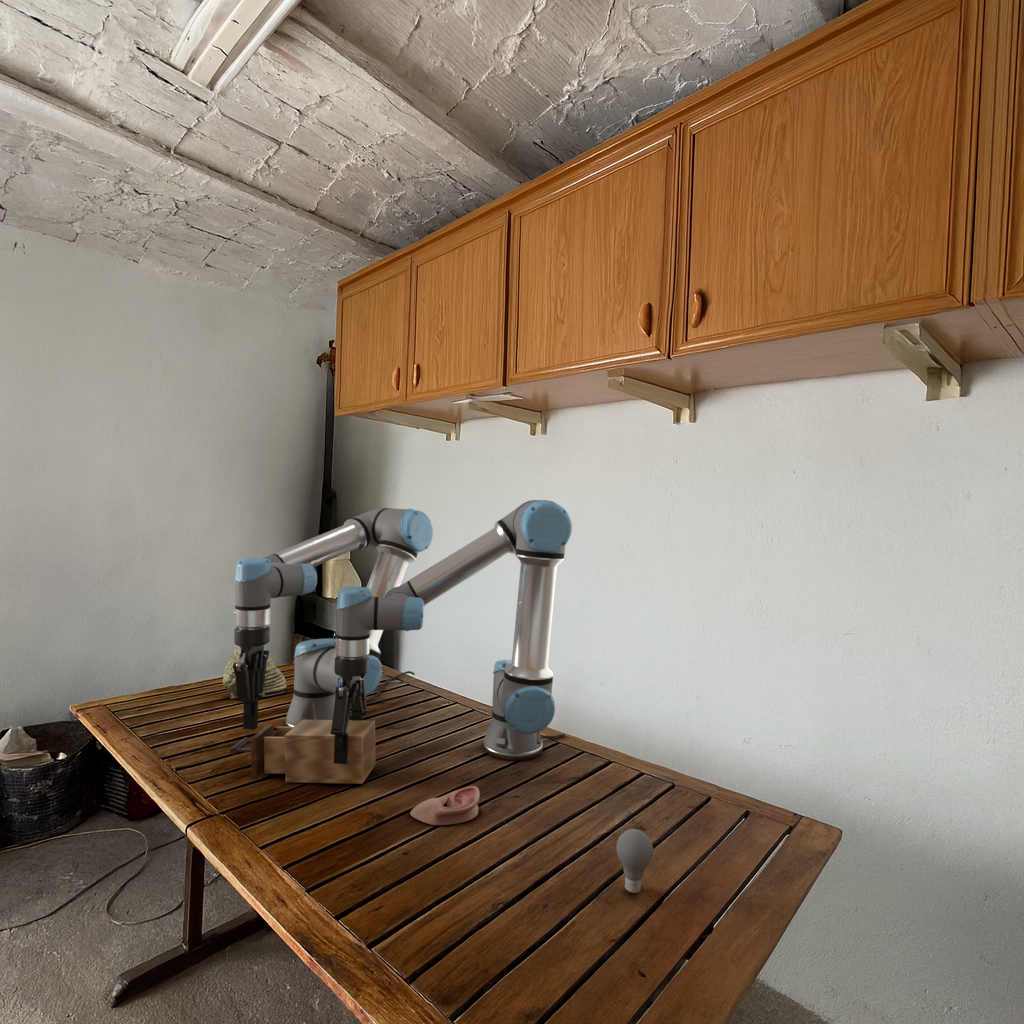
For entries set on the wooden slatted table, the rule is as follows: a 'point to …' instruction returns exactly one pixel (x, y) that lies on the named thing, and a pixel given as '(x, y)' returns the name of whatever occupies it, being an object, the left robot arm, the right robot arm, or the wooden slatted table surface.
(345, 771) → the cabinet
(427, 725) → the wooden slatted table surface
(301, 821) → the wooden slatted table surface
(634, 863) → the light bulb
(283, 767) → the drawer
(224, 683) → the fossil
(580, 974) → the wooden slatted table surface
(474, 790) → the anatomical model
